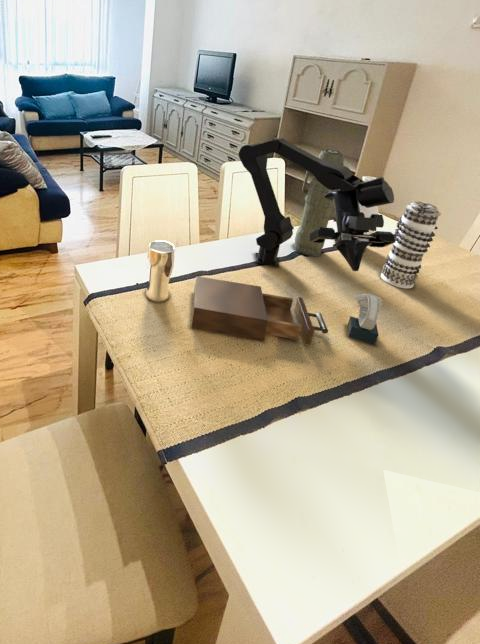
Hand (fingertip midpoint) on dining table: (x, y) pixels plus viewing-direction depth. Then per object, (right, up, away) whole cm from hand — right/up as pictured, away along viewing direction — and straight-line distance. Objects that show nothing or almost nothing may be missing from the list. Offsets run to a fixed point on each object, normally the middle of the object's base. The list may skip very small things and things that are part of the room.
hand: (355, 270), depth 96 cm
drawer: (-19, -13, -1) cm, 23 cm away
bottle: (+23, 0, +41) cm, 47 cm away
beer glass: (-49, -8, +9) cm, 50 cm away
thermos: (+6, 0, +37) cm, 37 cm away
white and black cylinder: (+26, -7, +22) cm, 34 cm away
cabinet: (-32, -12, +2) cm, 34 cm away
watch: (0, -15, -2) cm, 15 cm away
